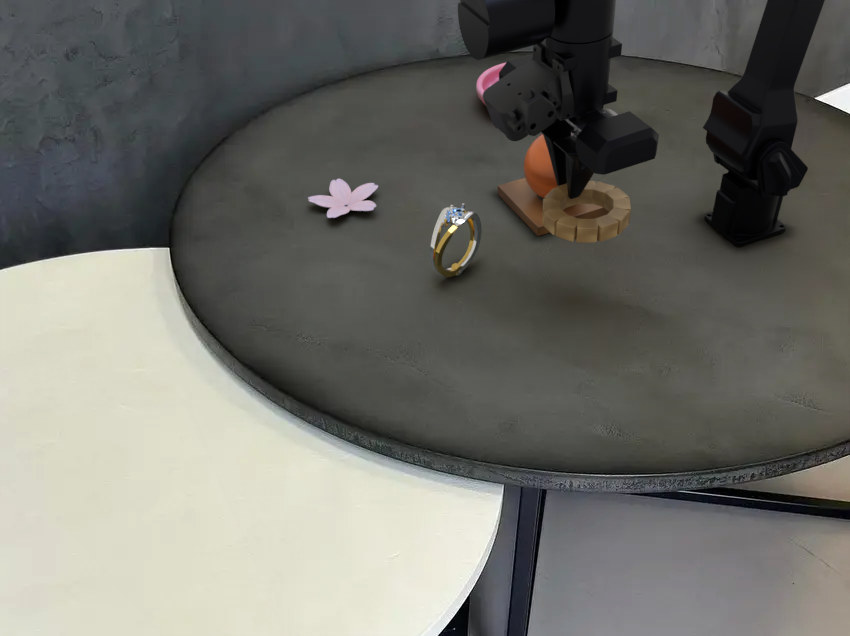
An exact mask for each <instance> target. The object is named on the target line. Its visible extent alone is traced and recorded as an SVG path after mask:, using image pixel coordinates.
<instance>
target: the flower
mask: <svg viewBox="0 0 850 636" xmlns="http://www.w3.org/2000/svg"><path fill="white" fill-rule="evenodd" d="M350 187H351V186H349V184H348V183H347V182H346V181H345V180H343V179H342V178H339V177H338V178H337V179H331V181H330V183H329V188H328V190H329V194H330V195H325V194H317V195H311V196H307V199H308V202H310V203H313V204H315V205H317V206H319V207H322V208H328V210H327V212H326V217H327V218H328V219H332V218H333V219H335V218H338V217H340V216H343V215H346V214H349V212H350V211H355V212H356V211H357V212H362V211H363V212H371V211H374V209H375V208H377V204H376V203H375V202H374V201H373V200H367V198H369V197H370V196H371V195H372V194H373V193H374V192H375V191H376V190H378V188H379V185H378V184H375V182H367V183H364V184H361V185H359V186H357V187H356V188H355V189H354V190H352V189H351V188H350ZM365 199H366V200H365Z"/></svg>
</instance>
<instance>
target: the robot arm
mask: <svg viewBox="0 0 850 636" xmlns="http://www.w3.org/2000/svg"><path fill="white" fill-rule="evenodd" d="M825 1H826V0H767V1H766V4H765V7H764V11H763V13H762V16H761V20H760V23H759V26H758V28H757V32H756V36H755V39H754V42H753V44H752V48H751V51H750V54H749V57H748V60H747V64H746V66H745V70H744V72H743V74H742V76H741V77H740V78H739V79H738V80H737V81H736V82H735V83H734V84H733V85H732V86H730V87H729V89H728V90H718V91H716V92H715V94H714V95H713V98H712V104H711V108H710V113H709V116H708V118H707V119H706V121H705V123H704V124H703V126H702V128H703V130H704V131H706V135H705V144H706V145H707V147H708V149H709V151H710V152H711V153H712V156H713V161H714V162H715V164H717V165H720V166H721V167H723V168H724V169H725V170H727V172H726V173H723V174H722V176H721V181H720V186H719V189H717V190H716V195H715V198H714V202H713V203H714V204H713V208H712V211H710V212H706V213H705V214H704V218H703V219H704V220H705V221H706V223H708V224H709V225H710V226H712V227H713V228H714V229H715V230H716V231H718V232H719V233H720V234H721V235H722V236H724V238H726V239H727V240H728V241H730V242H731V243H732V244H733V245H735V246H736V247H742V246H745V245H747V244H751V243H755V242H758V241H760V240H763V239H766V238H769V237H773V236H776V235H779V234H781V233H784V232H786V230H787V225H786V224H785V223H783V221H781V220H779V215H780V210H781V207H782V202H783V199H784V197H786V196H788V194H789V192H790V191H791V190H793V189H796V188H799V187H800V185H801V183H802V181H803V180H804V178H805V176H806V174H807V172H808V170H809V167H808V166H807V165H806V164H805V162H804V161H803V160H802V159H801V158H800V157H799V156H798V155H797V153H795V151H794V150H793V149H792V147H793V143H794V139H795V136H796V135H795V134H796V131H797V127H798V122H799V121H798V120H799V119H798V111H797V103H796V102H797V101H796V93H795V86H796V82H797V79H798V76H799V74H800V71H801V68H802V65H803V63H804V59H805V57H806V55H807V51H808V49H809V46H810V43H811V40H812V38H813V35H814V32H815V29H816V27H817V24H818V21H819V18H820V15H821V13H822V9H823V6H824V4H825ZM616 3H617V0H459V2H457V19H458V26H459V31H460V34H461V38H462V41H463V43H464V46H465V48H466V50H467V52H468V54H469V55H470V57H472V58H473V59H474V60H477V61H481V60H484V59H488V58H493V57H496V56H499V55H503V54H507V53H511V52H513V51H514V52H515V51H518V50H522V49H524V48H529V47H532V53H530V54H527V55H523V56H519V57H516V58H513V59H512V58H511V59H509V60H507V61H506V62H505V63H506V64H505V65H504V66H503V68H502V69H501V71H500V72H499V81H497V82H496V83H494V84H493V85H491V86H490V87H488V88H487V89H486V90H485V91H484V93H483V99H484V101H485V104H486V105H485V104H484V105H485V106H486V110H487V112H488V115H489V118H490V120H491V123H492V125H493V126H494V127H495V128H496V129H498V130H499V131H500V132H501V133H503V135H505V137H506V138H507V139H508V140H509V141H511V142H519V141H522V140H524V139H525V138H527V137H528V135H529V136H532V137H536V136H538V135H539V134H540V133H542V134H543V136H544V139H545V142H546V145H547V148H548V152H549V155H550V159H551V163H552V167H553V171H554V174H555V178H556V182H557V186H560V185H563V184H566V183H567V191H568V197H569V198H570V199H574V198H577V197H579V196H580V195H581V193H582V192H583V190H584V188H585V187H586V185H587V184H588V182H589V180H590V181H591V179H592V177H593V175H594V174H595V175H603V176H605V175H609V174H611V173H614V172H615V173H616V172H617V171H618V172H619V171H621V170H624V169H627V168H630V167H634V166H636V165H639V164H643V163H646V162H649V161H652V160H655V159H656V156H657V151H658V144H659V138H660V134H659V133H658V132H657V131H656V130H655V129H654V128H653V127H652V126H650V125H649V124H647V123H646V122H645V121H643V120H642V119H641V118H639V117H638V116H637V115H636V114H634V112H632V111H625V112H621V113H619V114H618V113H617V112H615V111H614V110H613V109H611V108H604V106H605V105H608V104H611V103H616V102H617V101H618V100H617V99H618V89H617V88H615V87H614V86H612V85H611V83H610V82H609V81H610V72H611V71H610V69H611V60H612V59H614V58H617V57H621V56H622V50H623V49H622V48H623V42H621V41H619V40H617V39H616V38H615V37H614V26H615V17H616V15H615V14H616V5H617V4H616ZM542 134H541V135H542Z"/></svg>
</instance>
